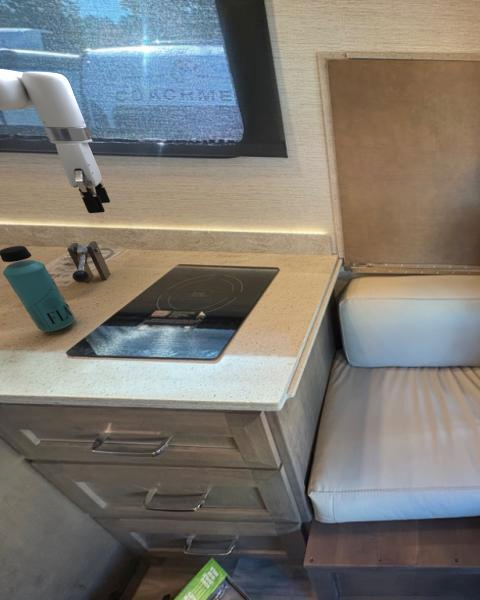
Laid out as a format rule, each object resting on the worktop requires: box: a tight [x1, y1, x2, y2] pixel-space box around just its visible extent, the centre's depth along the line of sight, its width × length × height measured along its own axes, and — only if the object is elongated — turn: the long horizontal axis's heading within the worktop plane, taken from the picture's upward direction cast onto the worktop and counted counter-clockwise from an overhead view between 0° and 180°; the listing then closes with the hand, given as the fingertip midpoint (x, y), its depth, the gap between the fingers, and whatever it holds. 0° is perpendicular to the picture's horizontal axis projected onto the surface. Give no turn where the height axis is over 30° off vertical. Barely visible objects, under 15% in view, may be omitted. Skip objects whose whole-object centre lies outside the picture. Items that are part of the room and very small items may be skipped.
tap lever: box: [71, 243, 91, 284], centre depth 88 cm, size 12×3×3 cm, turn 24°
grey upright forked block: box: [66, 240, 111, 284], centre depth 92 cm, size 7×10×12 cm
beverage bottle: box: [0, 245, 75, 332], centre depth 71 cm, size 6×7×20 cm
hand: (100, 207), depth 87 cm, fingers open, 9 cm apart
